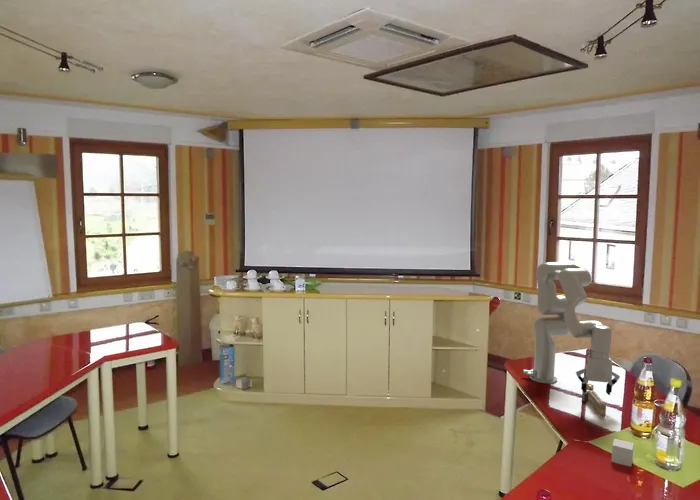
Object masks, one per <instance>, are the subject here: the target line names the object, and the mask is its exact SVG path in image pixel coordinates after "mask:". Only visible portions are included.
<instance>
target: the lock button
mask: <svg viewBox="0 0 700 500" xmlns="http://www.w3.org/2000/svg"><path fill="white" fill-rule="evenodd" d="M586 384H587V387H586V391H591V392H592V391H594V387H595V386H594V385H593V384H591V383H586Z"/></svg>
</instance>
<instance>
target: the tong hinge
mask: <svg viewBox="0 0 700 500" xmlns="http://www.w3.org/2000/svg"><path fill="white" fill-rule="evenodd" d="M588 391H589V390H586V393H584V392H583V391H582V392H581V393H582V394H581V395H582V396H581V400H582V401H583V403H588Z"/></svg>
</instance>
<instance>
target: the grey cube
mask: <svg viewBox="0 0 700 500" xmlns="http://www.w3.org/2000/svg"><path fill="white" fill-rule="evenodd" d="M634 444H635V443H634V442H630V441H627V440H622V439H619V438H614V439H613V442H612V446H611V448H612V450H611V463H615V464H618V465H622V466H625V467H626V466H627V467H632V464H633V459H634V458H633V455H634Z"/></svg>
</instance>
